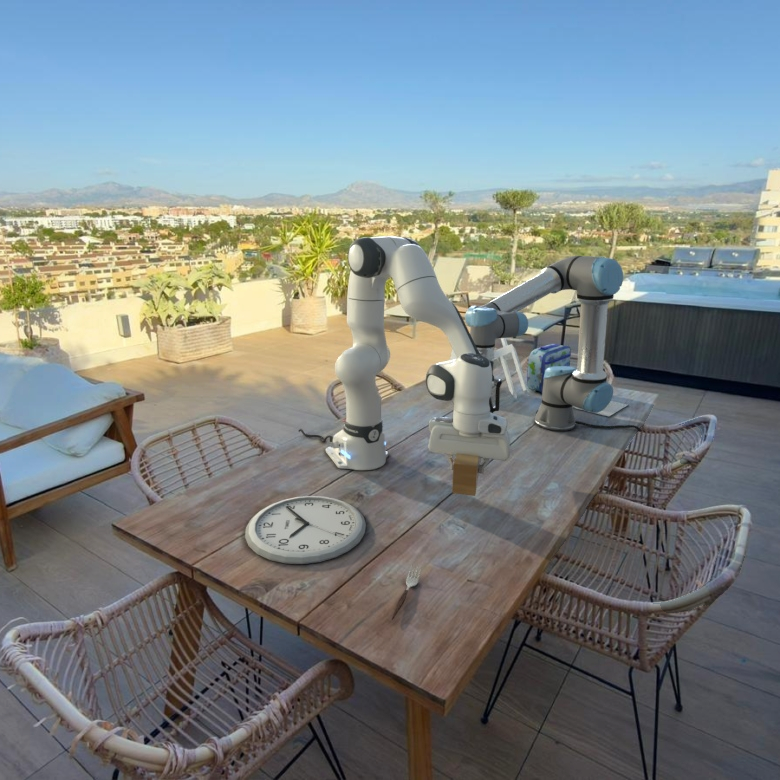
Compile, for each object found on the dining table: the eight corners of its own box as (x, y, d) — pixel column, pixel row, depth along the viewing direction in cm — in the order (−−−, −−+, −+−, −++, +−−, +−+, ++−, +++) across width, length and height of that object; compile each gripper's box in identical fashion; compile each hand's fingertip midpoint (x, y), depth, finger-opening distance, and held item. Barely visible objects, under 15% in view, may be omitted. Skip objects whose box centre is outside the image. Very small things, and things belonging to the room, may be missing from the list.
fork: (385, 619, 101) (385, 611, 101) (410, 571, 116) (411, 563, 115) (398, 623, 100) (398, 614, 100) (422, 574, 115) (422, 566, 114)
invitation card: (608, 416, 214) (573, 407, 224) (608, 416, 214) (573, 408, 224) (628, 404, 229) (594, 396, 238) (628, 405, 229) (594, 397, 238)
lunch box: (542, 396, 239) (547, 351, 232) (522, 391, 246) (526, 347, 240) (570, 385, 256) (575, 343, 250) (550, 380, 263) (554, 339, 257)
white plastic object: (461, 429, 252) (437, 405, 227) (444, 352, 274) (420, 323, 250) (535, 404, 240) (518, 377, 215) (510, 326, 262) (492, 293, 237)
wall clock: (368, 555, 118) (233, 560, 116) (368, 561, 119) (233, 566, 116) (363, 491, 147) (255, 494, 144) (363, 496, 147) (255, 499, 145)
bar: (469, 422, 175) (471, 400, 172) (486, 424, 173) (488, 401, 171) (451, 493, 127) (453, 463, 125) (475, 496, 126) (477, 465, 123)
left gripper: (427, 420, 128) (424, 471, 132) (512, 428, 124) (507, 481, 128) (431, 411, 134) (428, 461, 138) (512, 419, 130) (507, 470, 134)
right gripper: (449, 360, 158) (446, 431, 165) (512, 364, 154) (506, 436, 161) (452, 354, 165) (448, 423, 172) (512, 358, 161) (506, 428, 168)
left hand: (467, 471), depth 133 cm, fingers closed on bar, 5 cm apart
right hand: (476, 429), depth 167 cm, fingers closed on bar, 6 cm apart
